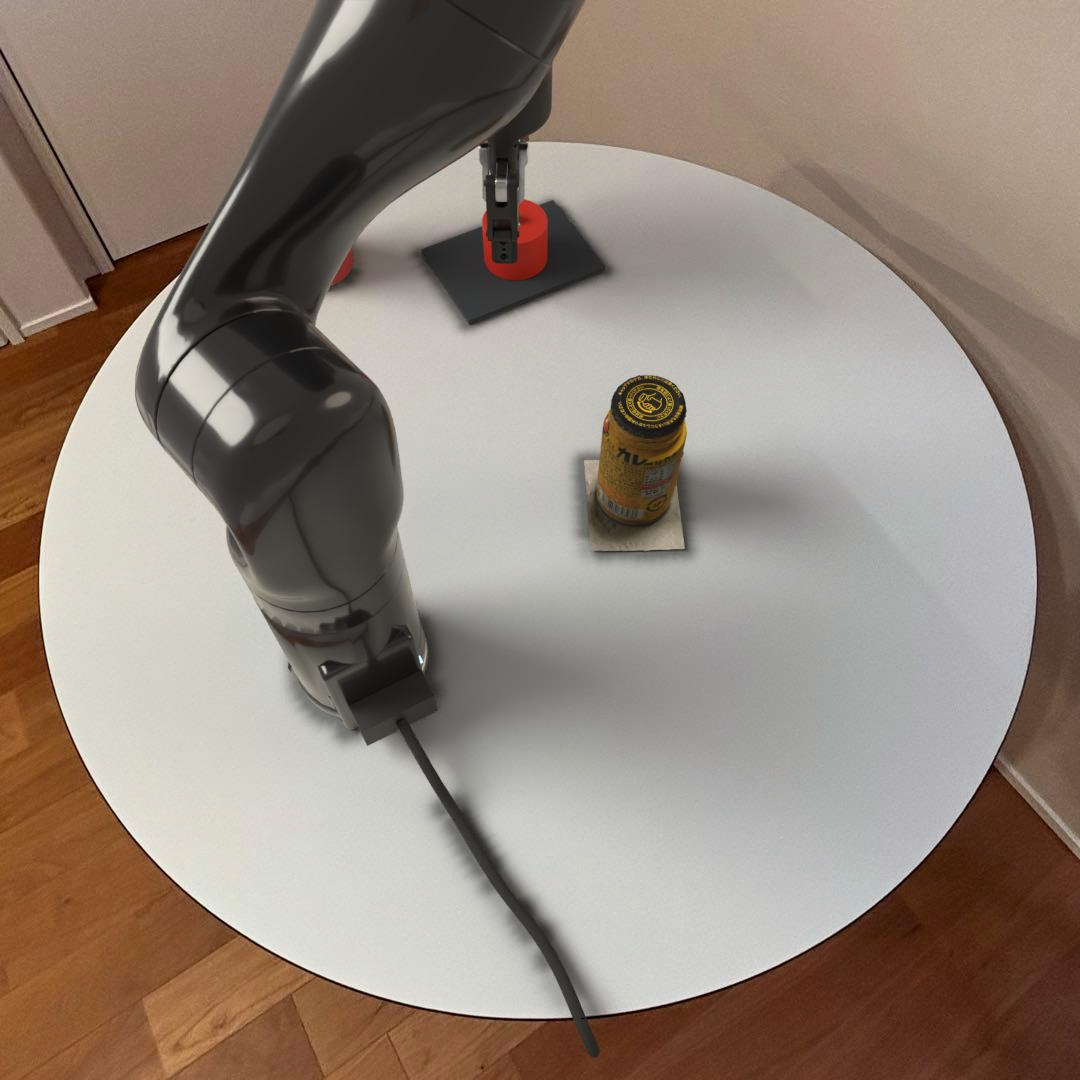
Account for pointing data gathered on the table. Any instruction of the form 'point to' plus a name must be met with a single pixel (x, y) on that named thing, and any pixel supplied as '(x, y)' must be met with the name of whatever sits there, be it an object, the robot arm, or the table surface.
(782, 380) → the table surface
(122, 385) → the table surface
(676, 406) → the condiment
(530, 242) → the red cylinder
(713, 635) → the table surface
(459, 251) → the dark rectangular pad
